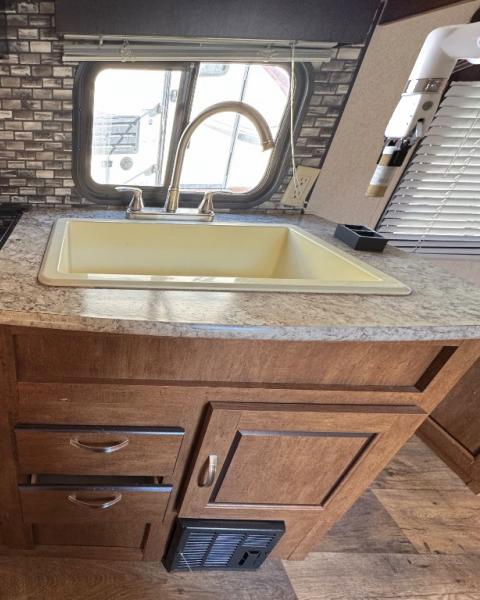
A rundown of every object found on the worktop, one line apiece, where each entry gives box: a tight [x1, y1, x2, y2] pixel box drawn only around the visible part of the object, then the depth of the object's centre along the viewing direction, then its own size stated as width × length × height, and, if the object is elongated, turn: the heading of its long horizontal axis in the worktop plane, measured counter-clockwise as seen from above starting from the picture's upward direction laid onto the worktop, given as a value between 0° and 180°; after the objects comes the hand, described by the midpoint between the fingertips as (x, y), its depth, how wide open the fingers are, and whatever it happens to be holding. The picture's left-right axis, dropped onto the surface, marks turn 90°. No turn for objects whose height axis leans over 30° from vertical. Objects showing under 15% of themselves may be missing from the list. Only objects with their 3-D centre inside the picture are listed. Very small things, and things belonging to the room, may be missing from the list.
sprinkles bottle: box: [364, 146, 398, 199], centre depth 90 cm, size 5×5×14 cm
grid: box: [332, 222, 390, 253], centre depth 98 cm, size 7×14×4 cm, turn 165°
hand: (388, 164), depth 89 cm, fingers closed on sprinkles bottle, 4 cm apart
